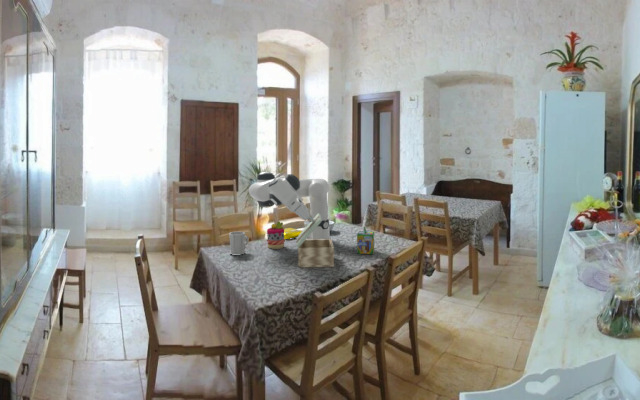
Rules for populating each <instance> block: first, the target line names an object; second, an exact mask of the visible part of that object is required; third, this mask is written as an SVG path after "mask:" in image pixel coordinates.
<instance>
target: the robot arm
mask: <svg viewBox="0 0 640 400" xmlns="http://www.w3.org/2000/svg"><path fill="white" fill-rule="evenodd" d="M256 180H257V181H256V182H255V183H252V184H251V185H250V186H249V188H248V193H249V196H250V197H251V198H252V199H254V200H255V201H256V202H257V204H258V205H259V206H260V208H265V209H266V208H267V209H268V208H271V207H274V205H275V206H278V207H279V206H282V205H284V206H285V207H286V208H287V209H288V210H289V211H290V212H291V213H295V215H296V216H298V217H299V218H301V219H302V220H303V221H304V222H305V221H308V222H309V223H310V222H312V223H314V222H315V219H314V217H315V216H316V215H317V214H318V213H319V214H320V216H321V220H322V222H321V223H320V224H319V225H318V226H317V227H316V228H315V230H314V231H313V232H312V233H311V234H310V235H309V236H308V238H307V239H306V240H308V239H331V240H332V237H331V234H330V231H329V227H328V225H329V221H330V219H329V204H328V203H329V202H328V192H329V191H330V184H329V182H328V181H327V180H326V179H324V178H309V179H308V178H307V179H304V178H303V179H299V178H298V177H297V175H294V174H293V173H292V174H289V173H287V174H285V175H284V176H279V177H276V176H275V174H273V173H272V172H270V171H262V172H259V173H258V174H257V177H256ZM303 198H309V205H310V206H309V207H310V209H309V208H308V207H307V206H306V205H305V204H304V202H303V200H304V199H303ZM305 228H306V227H305V226H304V228H303V229H302V231H303V230H304V229H305Z"/></svg>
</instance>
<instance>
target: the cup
mask: <svg viewBox="0 0 640 400" xmlns="http://www.w3.org/2000/svg"><path fill="white" fill-rule="evenodd" d="M228 236H229V246H230V247H229V248H230V250H229V254H230V253H232V254H244V253H245V252H246V249H245V248H246V247H245V246H247V245H248V243H249V236H247V235H246V232H244V231H231V232H229V233H228ZM245 254H246V253H245ZM245 254H244V255H245Z"/></svg>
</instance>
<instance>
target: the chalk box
mask: <svg viewBox="0 0 640 400" xmlns="http://www.w3.org/2000/svg"><path fill="white" fill-rule="evenodd" d="M356 237H357V238H356V242H357V243H356V248H357V250H356V252H357V255H374V252H375V231H370V230H369V231H367V230H366V226H363V231H361V230H360V231H358V232H357V234H356Z"/></svg>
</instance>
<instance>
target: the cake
mask: <svg viewBox="0 0 640 400" xmlns="http://www.w3.org/2000/svg"><path fill="white" fill-rule="evenodd" d="M283 225H284V222H281V221H277V222H276V223H272V224H271V225H270V226H271V227H269V228H267V230H266V234H267V236H266V237H267V239H266V242H267V248H268V249H270V248H272V249H271V250H279V249H280V248H281V249H283V247H284V248H285V242H286V240H285V239H284V229H285V228H284V226H283Z"/></svg>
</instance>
